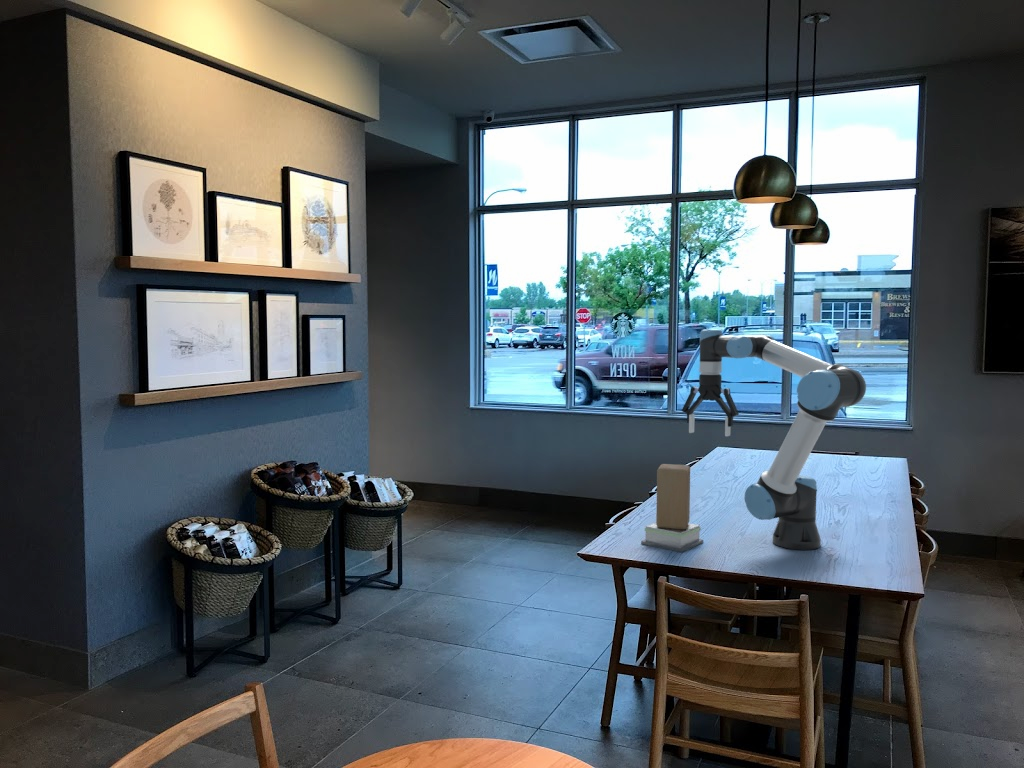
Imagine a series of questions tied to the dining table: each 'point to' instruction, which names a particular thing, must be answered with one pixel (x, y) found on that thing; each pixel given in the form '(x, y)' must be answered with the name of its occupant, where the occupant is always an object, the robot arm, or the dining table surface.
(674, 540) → the stand
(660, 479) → the wooden block
